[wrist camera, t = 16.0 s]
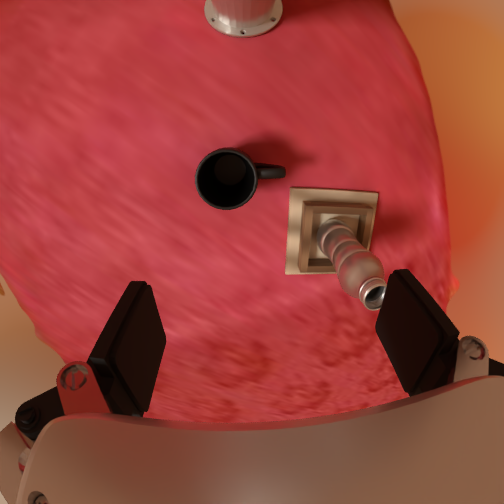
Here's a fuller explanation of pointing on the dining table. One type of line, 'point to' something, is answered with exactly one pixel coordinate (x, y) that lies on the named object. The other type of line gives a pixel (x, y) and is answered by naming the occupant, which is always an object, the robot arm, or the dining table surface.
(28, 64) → the dining table surface
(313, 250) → the bottle stand
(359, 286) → the plastic bottle
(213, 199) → the mug
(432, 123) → the dining table surface
